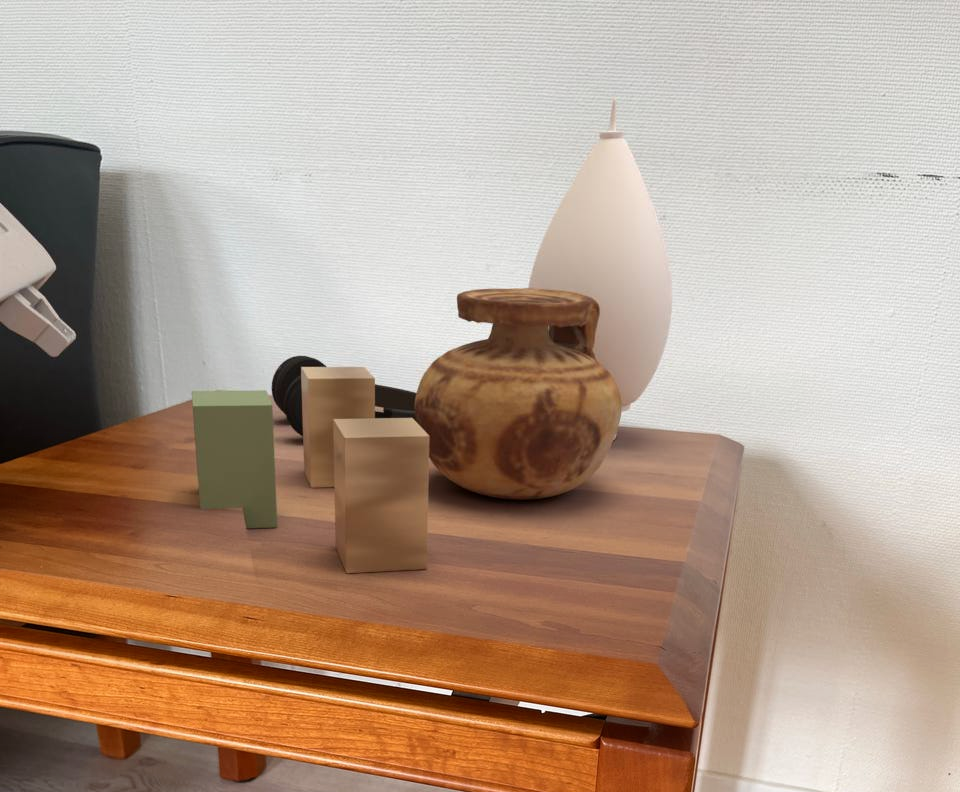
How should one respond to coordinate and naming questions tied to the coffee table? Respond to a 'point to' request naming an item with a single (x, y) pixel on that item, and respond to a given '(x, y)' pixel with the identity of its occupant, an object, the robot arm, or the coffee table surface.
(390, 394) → the headphones
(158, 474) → the coffee table surface
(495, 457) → the clay pot
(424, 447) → the maple block near
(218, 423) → the green block
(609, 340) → the lamp
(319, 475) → the maple block far
